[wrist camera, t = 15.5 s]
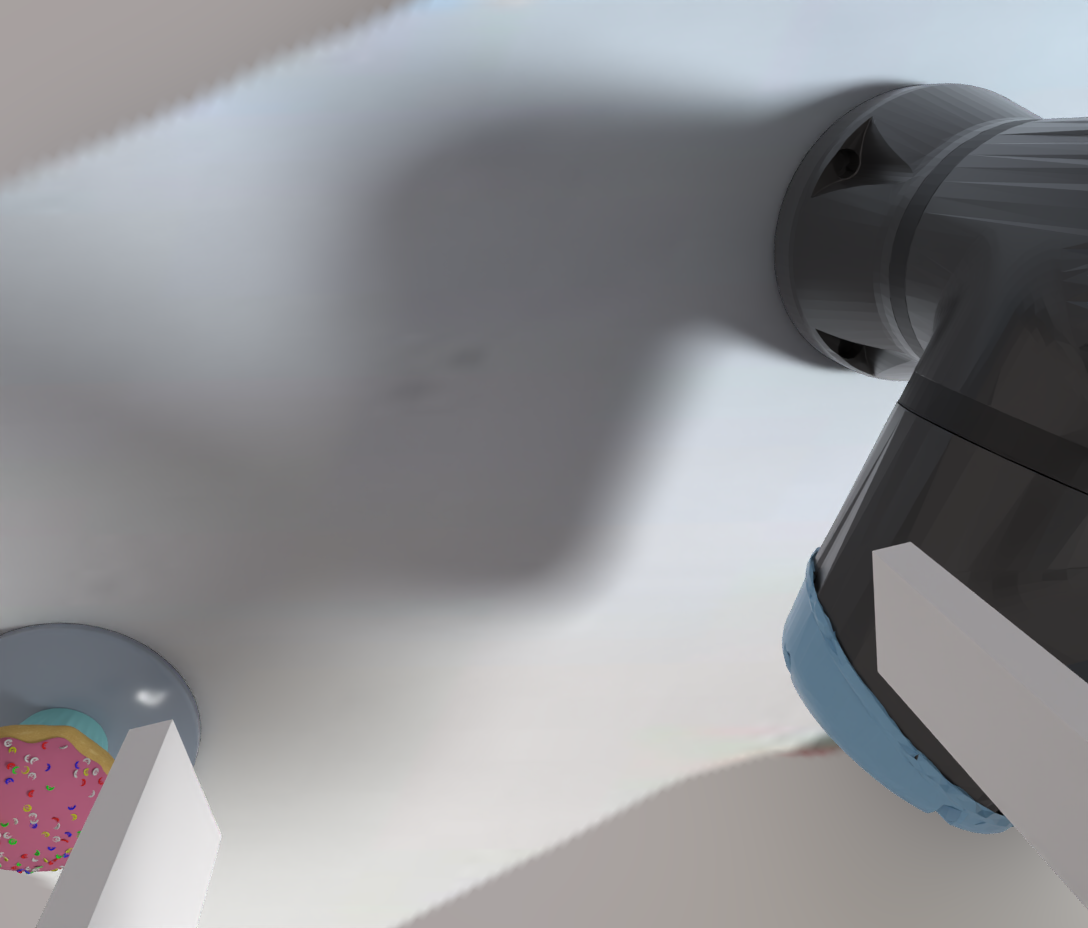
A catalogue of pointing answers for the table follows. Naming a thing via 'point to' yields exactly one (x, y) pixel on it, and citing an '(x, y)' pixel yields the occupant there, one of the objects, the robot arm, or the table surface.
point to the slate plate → (94, 681)
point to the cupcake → (48, 786)
